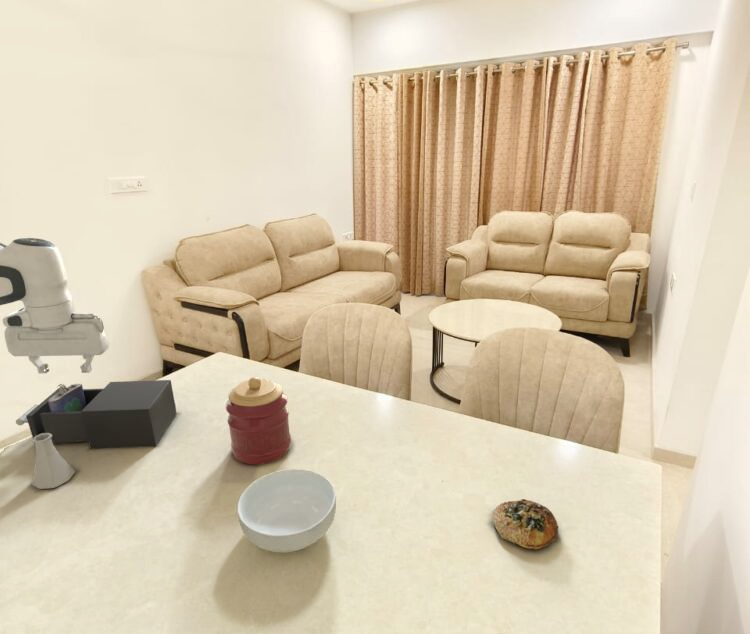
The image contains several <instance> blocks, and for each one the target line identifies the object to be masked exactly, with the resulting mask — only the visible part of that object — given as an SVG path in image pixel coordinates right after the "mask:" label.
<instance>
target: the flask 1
mask: <svg viewBox="0 0 750 634" xmlns="http://www.w3.org/2000/svg"><path fill="white" fill-rule="evenodd" d="M83 387H84V386H83V384H82V383H73V384H71V385H69V386H67V385H66V384H64V383H60V384H58V386H57V387H56V388H57V389H58V388H60V390H59V391H60V392H59V393H57V394H56V395H54V396H53V397H51V398H50V399H49V400H48V403H49V406H50V410H51V413H52V412H80V411H82V410H83V409H84V408H85V407H86V406H87V404H86V400H85V396H84V391H83V389H84V388H83Z"/></svg>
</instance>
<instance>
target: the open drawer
mask: <svg viewBox="0 0 750 634" xmlns="http://www.w3.org/2000/svg"><path fill="white" fill-rule="evenodd" d="M103 389H104V388H83V391H84V396H85V400H86V404H87V405H88V404H89V403H90V402H91V401H92V400H93V399H94V398H95V397H96V396H97V395H98V394H99V393H100V392H101V391H102V390H103ZM59 390H60V387H58V388H57V389H55V391H53V392H52V393H51V394H50V395H49V396H48V397H46V398H45V399H43V401H41V402H40V403H39V404H34V405H33V406H31V407H30V408H29V409H28V410H27V411H25V412H24V413H23V414H22V415H21V416H19V417H18V418H17V419H16V420H15V424H16V425H18V426H23V425H24V424H28V427H29V430H30V433H31V436H32V439H33V438H34V437H35V436H37V435H39V434H41V433H50V434H52V438H51V440H52V443H74V442H77V443H78V442H89V441H88V437H87V433H86V429H85V425H84V422H83V418H82V414H81V411H80V412H52V413H51V410H50V406H49V403H48V400H49V399H50V398H51V397H53V396H54V395H56V394H57V393H59V392H60V391H59Z"/></svg>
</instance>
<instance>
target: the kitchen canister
mask: <svg viewBox="0 0 750 634" xmlns="http://www.w3.org/2000/svg"><path fill="white" fill-rule="evenodd" d="M283 391H284V389H283V386H281V384H279V383H278V382H275V381H272V380H270V379H266V378H259V376H252V377H250V378H249V379H248V380H245V381H243V382H240V383H239V384H238V385H236V386H235V387H233V388H232V389H231V390H230V391H229V393H228V400H227V401H226V403H225V410H226V412H227V413H228V417H227V424H228V429H229V434H230V447H231V452H232V453H233V456H234V459H236V460H237V461H239V462H240V463H243V464H247V465H257V466H258V465H265V464H269V463H273V462H275V461H277V460H280V459H281V458H283V457H285V455H286V454H287V453H288V452H289V450H290V448H291V443H292V438H291V437H292V435H291V432H290V423H289V415H290V412H289V409H288V407H286V406H287V404H288V396H287V395H286V393H284V392H283Z"/></svg>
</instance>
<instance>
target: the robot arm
mask: <svg viewBox="0 0 750 634" xmlns="http://www.w3.org/2000/svg"><path fill="white" fill-rule="evenodd" d="M19 301H20V302H22V304H23V307H22V308H19V309H17V310H15V311H13V312H11V313H9V314H8V315H6V316H4V317H3V318H2V319H1V320H2V325H3V326H4V327H6V328H5V329H4V340H5V344H6V348H7V351H8V353H9V354H10V355H11V356H13V357H28V360H29V361H30V363H31V364H33V365H34V367H36V370H37V373H38V374H47V373H49V372H50V367H49V364H48V363H44V361H43V360H42V359H41V357H58V356H59V357H63V356H64V357H66V356H67V357H68V356H82V359H83V360H85V361H84V363H82V364H81V365H80V371H81V373H83V374H85V373H86V374H89V373H91V372H92V370H93V368H92V362H93V360H94V358H95V356H102V355H103V354H104V353H105V352H106V351H107V350H108V349H109V347H110V344H109V343H110V342H109V339H108V337H107V334H106V331H105V329H104V328H105V326H104V321H103V319H102V318H101V317H100V316H98V315H96V314H95V313H76V310H75V306H74V301H73V298H72V294H71V293H70V291H69V288H68V275H67V271H66V267H65V264H64V261H63V258H62V255H61V253H60V250H59V249H58V247H57V245H55V244H54V243H53V242H51V241H49V240H46V239H42V238H34V237H26V238H25V237H21V238H17V239H13V240H12V241H11V242H10V243H9V244H8V245H6V244H4V243H2V242H0V306H3V305H8V304H12V303H15V302H19Z"/></svg>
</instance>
